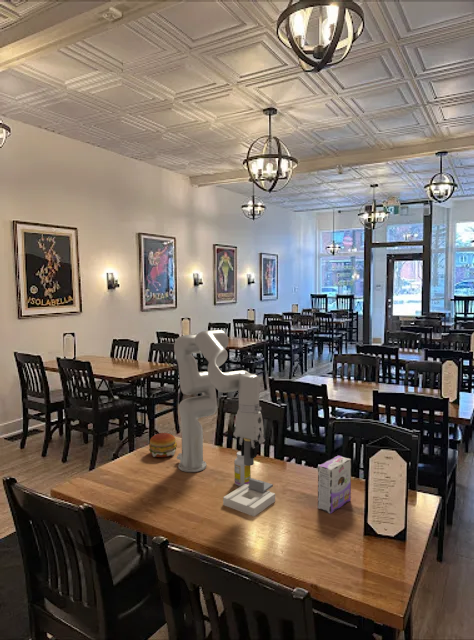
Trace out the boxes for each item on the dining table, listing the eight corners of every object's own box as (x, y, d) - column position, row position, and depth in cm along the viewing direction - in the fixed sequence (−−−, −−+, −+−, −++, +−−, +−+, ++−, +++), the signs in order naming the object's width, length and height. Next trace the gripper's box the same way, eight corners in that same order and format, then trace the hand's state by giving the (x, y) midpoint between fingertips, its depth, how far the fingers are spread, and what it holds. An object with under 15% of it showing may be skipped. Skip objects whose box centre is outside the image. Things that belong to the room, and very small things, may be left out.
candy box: (337, 495, 171) (338, 454, 170) (351, 501, 167) (351, 458, 166) (316, 508, 162) (317, 464, 161) (330, 514, 158) (331, 469, 156)
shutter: (248, 488, 171) (248, 478, 170) (258, 481, 176) (258, 472, 176) (262, 493, 167) (262, 483, 166) (272, 486, 172) (272, 476, 172)
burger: (163, 447, 224) (162, 427, 224) (183, 452, 216) (182, 432, 216) (143, 455, 213) (142, 435, 213) (163, 461, 205) (163, 440, 205)
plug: (241, 464, 164) (241, 437, 163) (247, 461, 167) (247, 435, 166) (249, 466, 162) (249, 439, 161) (255, 463, 165) (255, 437, 164)
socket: (223, 505, 164) (223, 496, 164) (245, 491, 176) (245, 483, 175) (254, 516, 156) (254, 507, 156) (275, 501, 167) (275, 492, 167)
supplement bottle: (251, 480, 185) (251, 450, 184) (250, 487, 179) (250, 456, 178) (235, 479, 186) (235, 449, 185) (233, 486, 180) (233, 455, 179)
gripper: (273, 409, 161) (273, 458, 162) (237, 402, 171) (237, 448, 172) (261, 413, 155) (261, 464, 156) (224, 406, 165) (225, 454, 166)
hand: (248, 455), depth 164 cm, fingers closed on plug, 3 cm apart
